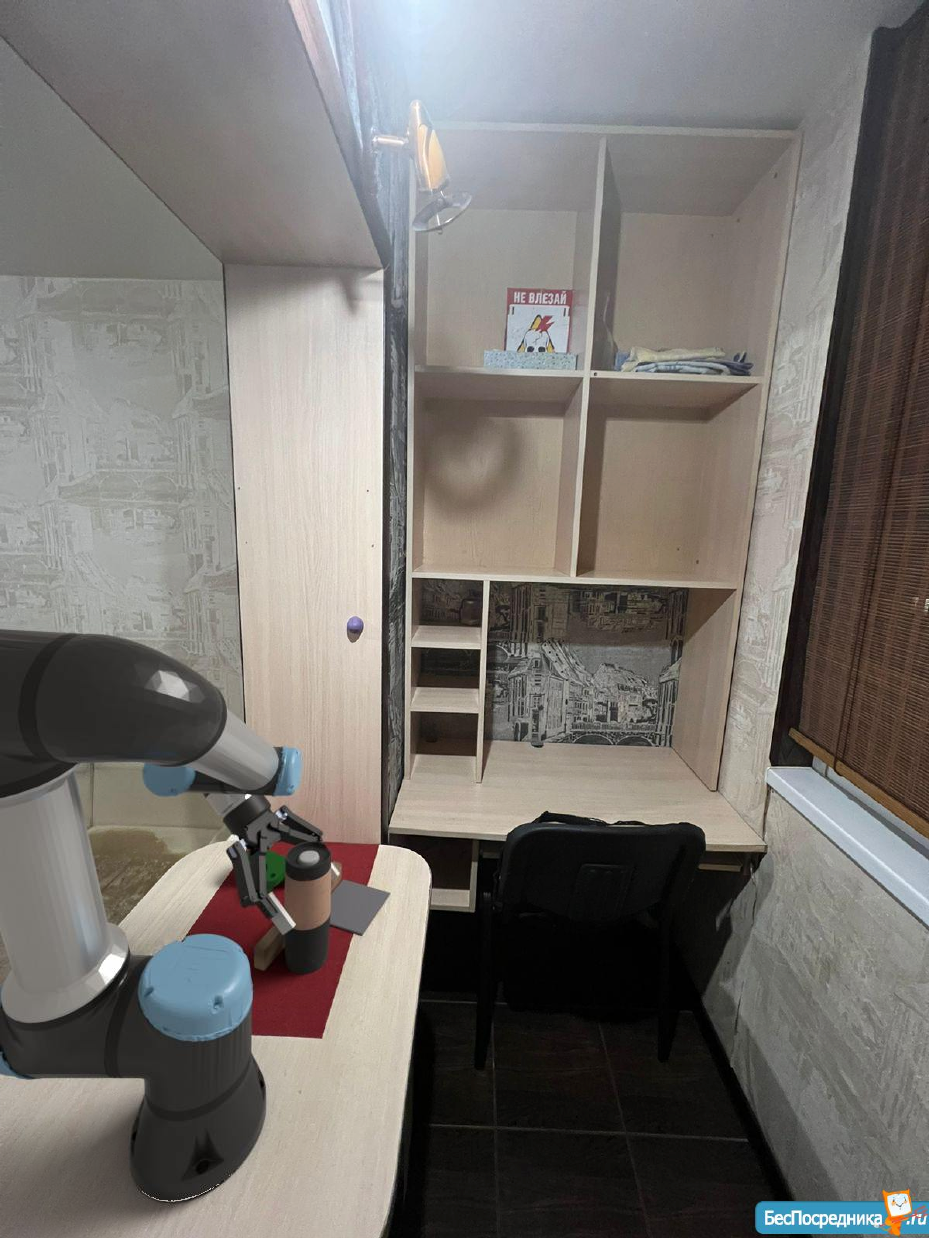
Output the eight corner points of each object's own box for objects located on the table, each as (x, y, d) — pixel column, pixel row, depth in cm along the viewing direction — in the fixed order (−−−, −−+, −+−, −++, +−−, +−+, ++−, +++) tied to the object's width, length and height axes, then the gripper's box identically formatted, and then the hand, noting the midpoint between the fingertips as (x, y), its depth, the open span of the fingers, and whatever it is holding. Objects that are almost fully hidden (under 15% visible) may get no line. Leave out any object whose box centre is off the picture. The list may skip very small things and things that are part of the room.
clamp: (248, 899, 111) (228, 863, 109) (270, 877, 116) (251, 843, 114) (283, 902, 104) (262, 864, 103) (304, 879, 109) (284, 843, 108)
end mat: (362, 935, 97) (362, 933, 97) (311, 919, 100) (311, 917, 100) (390, 894, 109) (390, 892, 109) (343, 880, 112) (343, 879, 112)
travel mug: (275, 971, 88) (276, 864, 85) (296, 937, 96) (297, 837, 93) (318, 979, 87) (321, 871, 84) (336, 944, 95) (338, 843, 92)
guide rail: (264, 970, 88) (264, 950, 88) (254, 967, 89) (254, 946, 88) (341, 880, 112) (341, 863, 111) (333, 877, 112) (333, 861, 112)
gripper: (272, 783, 105) (336, 869, 103) (170, 853, 81) (251, 966, 80) (296, 763, 102) (362, 851, 101) (197, 830, 79) (281, 946, 77)
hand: (313, 902), depth 90 cm, fingers open, 13 cm apart
